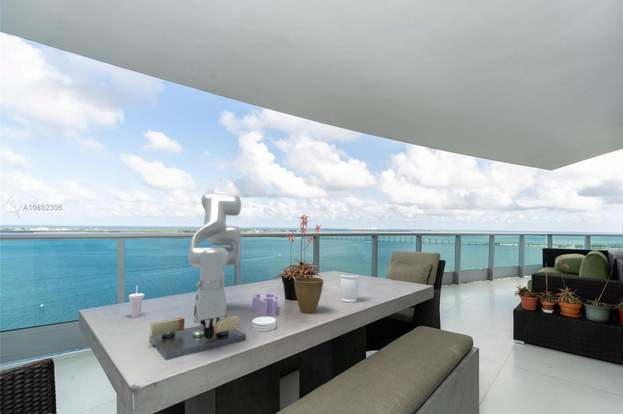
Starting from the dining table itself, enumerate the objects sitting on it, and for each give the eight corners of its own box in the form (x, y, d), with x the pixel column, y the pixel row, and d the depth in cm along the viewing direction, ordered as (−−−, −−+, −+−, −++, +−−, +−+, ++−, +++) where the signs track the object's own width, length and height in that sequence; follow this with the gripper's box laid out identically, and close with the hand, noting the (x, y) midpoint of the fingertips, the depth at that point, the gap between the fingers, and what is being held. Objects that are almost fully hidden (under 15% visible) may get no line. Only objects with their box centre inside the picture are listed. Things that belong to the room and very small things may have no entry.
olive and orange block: (152, 341, 107) (153, 325, 107) (148, 337, 110) (149, 322, 111) (184, 334, 115) (185, 319, 115) (180, 331, 118) (180, 316, 118)
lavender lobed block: (282, 315, 150) (282, 300, 150) (256, 317, 145) (257, 302, 146) (273, 305, 168) (273, 292, 169) (250, 306, 164) (250, 293, 165)
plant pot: (289, 314, 152) (290, 280, 153) (298, 306, 166) (298, 276, 167) (319, 316, 148) (320, 282, 149) (325, 308, 162) (326, 277, 163)
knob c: (234, 329, 121) (234, 315, 122) (239, 332, 118) (240, 317, 118) (206, 335, 114) (207, 320, 114) (211, 338, 111) (212, 323, 111)
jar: (339, 302, 177) (340, 275, 178) (341, 298, 187) (341, 273, 188) (358, 303, 175) (358, 276, 176) (358, 299, 186) (359, 273, 187)
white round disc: (259, 323, 137) (259, 315, 137) (280, 326, 134) (280, 317, 134) (247, 330, 128) (247, 321, 128) (268, 333, 124) (269, 324, 125)
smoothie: (126, 318, 139) (128, 286, 140) (127, 315, 144) (129, 284, 145) (143, 317, 142) (144, 285, 143) (143, 313, 147) (145, 283, 148)
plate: (149, 341, 113) (149, 332, 113) (222, 326, 131) (222, 318, 132) (166, 359, 98) (166, 349, 98) (245, 339, 116) (246, 331, 116)
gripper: (193, 288, 103) (191, 346, 101) (235, 284, 112) (233, 336, 111) (185, 285, 108) (183, 339, 107) (225, 281, 118) (224, 330, 117)
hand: (208, 337), depth 109 cm, fingers closed
